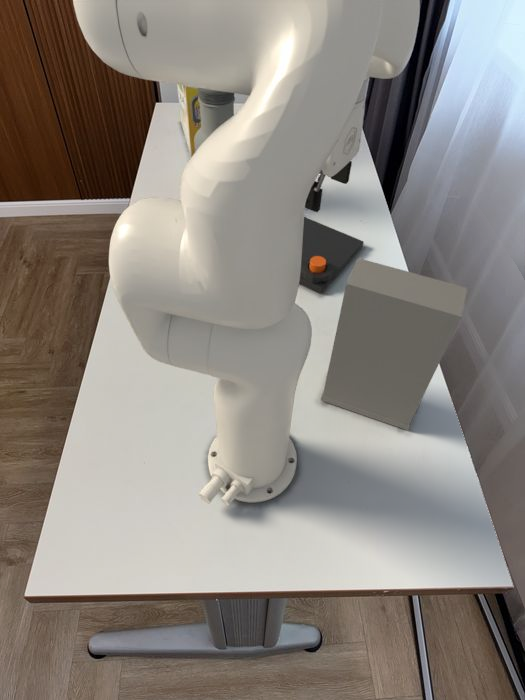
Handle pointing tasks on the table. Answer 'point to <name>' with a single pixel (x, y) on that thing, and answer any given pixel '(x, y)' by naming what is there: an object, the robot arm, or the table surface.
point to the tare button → (317, 264)
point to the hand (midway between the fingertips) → (325, 194)
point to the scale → (325, 254)
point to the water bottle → (211, 112)
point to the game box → (189, 114)
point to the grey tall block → (390, 341)
